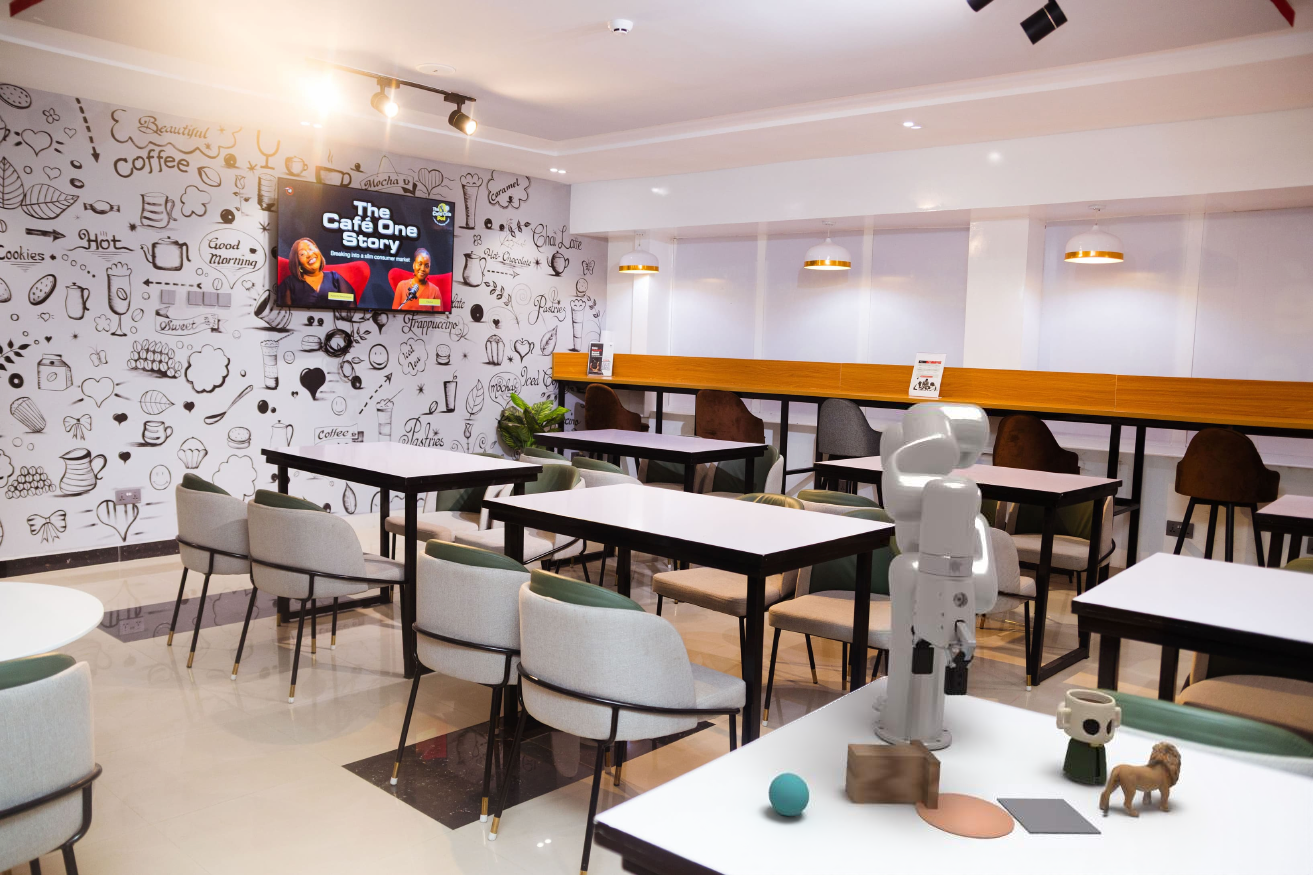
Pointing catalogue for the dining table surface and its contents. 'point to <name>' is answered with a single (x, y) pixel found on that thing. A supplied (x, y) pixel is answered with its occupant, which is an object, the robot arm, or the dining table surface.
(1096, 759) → the character mug
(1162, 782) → the lion figurine
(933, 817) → the disc
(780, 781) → the ball
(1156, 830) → the dining table surface
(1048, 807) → the far square
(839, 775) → the dining table surface
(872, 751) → the t-shaped block
